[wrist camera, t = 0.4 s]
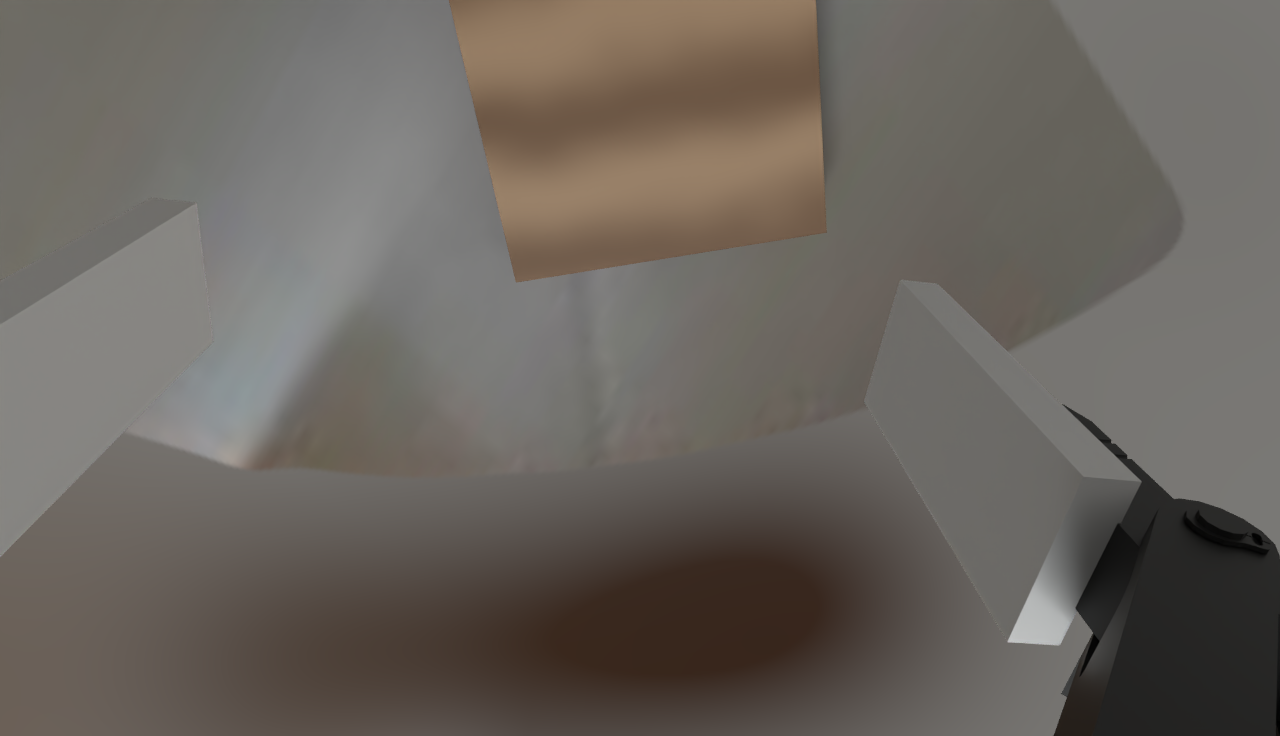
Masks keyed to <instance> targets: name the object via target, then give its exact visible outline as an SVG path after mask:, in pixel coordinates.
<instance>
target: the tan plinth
mask: <svg viewBox="0 0 1280 736" xmlns="http://www.w3.org/2000/svg"><path fill="white" fill-rule="evenodd" d="M449 3H450V7H451V11H452V15H453V19H454V24H455V28H456V32H457V36H458V40H459V45H460V49H461V53H462V57H463V61H464V66H465V70H466V74H467V78H468V82H469V87H470V91H471V95H472V99H473V104H474V108H475V112H476V116H477V120H478V125H479V129H480V133H481V137H482V141H483V146H484V150H485V154H486V158H487V162H488V167H489V171H490V175H491V179H492V183H493V188H494V192H495V196H496V200H497V204H498V209H499V213H500V217H501V221H502V225H503V230H504V234H505V238H506V242H507V246H508V251H509V255H510V259H511V263H512V267H513V272H514V276H515V280H516V282H522V281H528V280H535V279H541V278H547V277H553V276H559V275H566V274H572V273H578V272H584V271H591V270H597V269H603V268H609V267H615V266H622V265H628V264H634V263H640V262H647V261H653V260H659V259H665V258H672V257H678V256H684V255H690V254H696V253H703V252H709V251H715V250H721V249H728V248H734V247H740V246H746V245H752V244H759V243H765V242H771V241H777V240H784V239H790V238H796V237H802V236H808V235H815V234H821V233H827V230H826V208H825V187H824V165H823V144H822V122H821V100H820V79H819V57H818V36H817V14H816V0H449Z"/></svg>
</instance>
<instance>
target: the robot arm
mask: <svg viewBox="0 0 1280 736" xmlns="http://www.w3.org/2000/svg"><path fill="white" fill-rule="evenodd" d="M212 342H213V333H212V325H211V317H210V309H209V301H208V292H207V284H206V276H205V268H204V260H203V251H202V243H201V235H200V227H199V219H198V211H197V203H195V202H186V201H177V200H167V199H158V198H150V199H148V200H146V201H145V202H143V203H141V204H139V205H137V206H135V207H134V208H132V209H130V210H128V211H126V212H124V213H123V214H121V215H119V216H117V217H115V218H113V219H112V220H110V221H108V222H106V223H104V224H102V225H101V226H99V227H97V228H95V229H93V230H91V231H90V232H88V233H86V234H84V235H82V236H81V237H79V238H77V239H75V240H73V241H71V242H70V243H68V244H66V245H64V246H62V247H60V248H59V249H57V250H55V251H53V252H51V253H49V254H48V255H46V256H44V257H42V258H40V259H38V260H37V261H35V262H33V263H31V264H29V265H27V266H26V267H24V268H22V269H20V270H18V271H17V272H15V273H13V274H11V275H9V276H7V277H6V278H4V279H2V280H0V556H2V555H3V554H4V553H5V552H6V550H8V548H9V547H10V546H11V545H12V544H13V543H14V542H15V541H16V540H17V539H18V538H19V537H20V536H21V535H22V534H23V533H24V532H25V531H26V530H27V529H28V528H29V527H30V526H31V525H32V524H33V523H34V522H35V521H36V520H37V519H38V518H39V517H40V516H41V515H42V514H43V513H44V512H45V511H46V510H47V509H48V508H49V507H50V506H51V505H52V504H53V503H54V502H55V501H56V500H57V499H58V498H59V497H60V496H61V495H62V494H63V493H64V492H65V491H66V490H67V489H68V488H69V487H70V486H71V485H72V484H73V483H74V482H75V481H76V480H77V479H78V478H79V477H80V476H81V475H82V474H83V473H84V472H85V471H86V470H87V469H88V468H89V467H90V466H91V465H92V464H93V462H95V461H96V460H97V459H98V457H99V456H101V454H103V453H104V451H106V450H107V448H108V447H109V446H110V445H111V444H112V443H113V442H114V441H115V440H116V439H117V438H118V437H119V436H120V435H121V434H122V433H123V432H124V431H125V430H126V429H127V428H128V427H129V426H130V425H131V424H132V423H133V422H134V421H135V420H136V419H137V418H138V417H139V416H140V415H141V414H142V413H143V412H144V411H145V410H146V409H147V408H148V407H149V406H150V405H151V404H152V403H153V402H154V401H155V400H156V399H157V398H158V397H159V396H160V395H161V394H162V393H163V392H164V391H165V390H166V389H167V388H168V387H169V386H170V385H171V384H172V383H173V382H174V381H175V380H176V379H177V378H178V377H179V376H180V375H181V374H182V373H183V372H184V371H185V370H186V369H187V368H188V367H189V366H190V365H191V364H192V363H193V362H194V361H195V360H196V359H197V358H198V357H199V356H200V355H201V354H202V353H203V352H204V351H205V349H206V348H207V347H208V346H209V345H210V344H211V343H212ZM864 403H865V404H866V406H867V408H868V409H869V411H870V412H871V414H872V416H873V418H874V419H875V421H876V423H877V424H878V426H879V428H880V429H881V431H882V433H883V434H884V436H885V438H886V439H887V441H888V443H889V445H890V446H891V448H892V449H893V451H894V453H895V454H896V456H897V458H898V460H899V461H900V463H901V465H902V466H903V468H904V470H905V471H906V473H907V475H908V476H909V478H910V480H911V481H912V483H913V485H914V486H915V488H916V490H917V491H918V493H919V495H920V496H921V498H922V500H923V502H924V503H925V505H926V506H927V508H928V510H929V512H930V513H931V515H932V517H933V518H934V520H935V521H936V523H937V525H938V527H939V528H940V530H941V532H942V533H943V535H944V537H945V538H946V540H947V542H948V543H949V545H950V547H951V548H952V550H953V552H954V553H955V555H956V557H957V558H958V560H959V562H960V564H961V565H962V567H963V568H964V570H965V572H966V573H967V575H968V577H969V579H970V580H971V582H972V584H973V585H974V587H975V589H976V590H977V592H978V594H979V595H980V597H981V599H982V600H983V602H984V604H985V605H986V607H987V609H988V610H989V612H990V614H991V616H992V617H993V619H994V620H995V622H996V624H997V626H998V627H999V629H1000V631H1001V632H1002V634H1003V635H1004V637H1005V639H1006V640H1007V642H1016V643H1032V644H1048V645H1060V644H1061V642H1062V639H1063V638H1064V635H1065V634H1066V632H1067V630H1068V628H1069V626H1070V624H1071V622H1072V620H1073V618H1074V616H1075V614H1076V612H1077V611H1078V612H1079V614H1080V615H1081V616H1082V618H1083V619H1084V621H1085V622H1086V623H1087V625H1088V626H1089V627H1090V629H1091V630H1092V632H1093V634H1092V636H1091V638H1090V640H1089V642H1088V644H1087V646H1086V648H1085V650H1084V652H1083V653H1082V655H1081V657H1080V659H1079V661H1078V663H1077V665H1076V667H1075V669H1074V670H1073V673H1072V674H1071V676H1070V678H1069V680H1068V682H1067V684H1066V686H1065V688H1064V690H1063V691H1062V693H1061V694H1063V695H1064V696H1066V697H1067V699H1066V702H1065V705H1064V708H1063V710H1062V713H1061V716H1060V719H1059V722H1058V725H1057V728H1056V731H1055V733H1054V736H1280V556H1279V553H1278V551H1277V548H1276V546H1275V544H1274V543H1273V542H1272V541H1271V540H1270V539H1269V538H1268V537H1267V536H1266V535H1265V534H1264V533H1263V532H1262V531H1260V530H1259V529H1257V528H1256V527H1254V526H1253V525H1251V524H1250V523H1248V522H1247V521H1245V520H1244V519H1242V518H1240V517H1238V516H1236V515H1234V514H1231V513H1229V512H1227V511H1225V510H1223V509H1221V508H1218V507H1214V506H1212V505H1209V504H1205V503H1202V502H1199V501H1193V500H1186V499H1173V498H1172V497H1171V496H1170V495H1169V494H1168V493H1167V492H1166V491H1165V490H1164V489H1163V488H1161V487H1160V486H1159V485H1158V484H1157V483H1156V482H1155V481H1154V480H1153V479H1152V478H1151V477H1150V476H1149V475H1148V474H1146V473H1145V472H1144V471H1143V470H1142V469H1141V468H1140V467H1139V466H1138V465H1137V464H1136V463H1135V462H1134V461H1133V460H1132V459H1127V454H1125V453H1124V452H1123V451H1122V450H1121V449H1120V448H1119V447H1118V446H1117V445H1116V444H1112V443H1111V439H1110V438H1109V437H1107V436H1106V435H1105V434H1104V433H1103V432H1102V431H1101V430H1100V429H1099V428H1098V427H1097V426H1096V425H1095V424H1094V423H1093V422H1092V421H1090V420H1088V419H1086V418H1085V417H1083V416H1082V415H1080V414H1078V413H1076V412H1075V411H1073V410H1071V409H1070V408H1068V407H1067V406H1065V405H1063V404H1061V403H1060V402H1059V401H1058V400H1057V399H1056V398H1055V397H1054V396H1053V395H1052V394H1051V393H1050V392H1049V391H1048V390H1047V389H1045V387H1043V386H1042V385H1041V384H1040V383H1039V382H1038V381H1037V380H1036V379H1035V378H1034V377H1033V376H1032V375H1031V374H1030V373H1029V372H1028V371H1027V370H1026V369H1025V368H1024V367H1023V366H1022V365H1021V364H1020V363H1019V362H1017V360H1016V359H1014V358H1013V357H1012V356H1011V355H1010V354H1009V353H1008V352H1007V351H1006V350H1005V349H1004V348H1003V347H1002V346H1001V345H1000V344H999V343H998V342H997V341H996V340H995V339H994V338H993V337H992V336H991V335H990V334H989V333H988V332H987V331H986V330H985V329H984V328H983V327H982V326H980V325H979V324H978V323H977V322H976V321H975V320H974V319H973V318H972V317H971V316H970V315H969V314H968V313H967V312H966V311H965V310H964V309H963V308H962V307H961V306H960V305H959V304H958V303H957V302H956V301H955V300H954V299H953V298H952V297H951V296H949V295H948V294H947V293H946V292H945V291H944V290H943V289H942V288H941V287H940V286H939V285H938V284H934V283H925V282H916V281H906V280H900V282H899V285H898V289H897V292H896V296H895V299H894V302H893V306H892V309H891V312H890V316H889V319H888V323H887V326H886V329H885V333H884V336H883V340H882V343H881V346H880V350H879V353H878V356H877V360H876V363H875V367H874V370H873V373H872V377H871V380H870V383H869V387H868V390H867V394H866V397H865V400H864Z"/></svg>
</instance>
